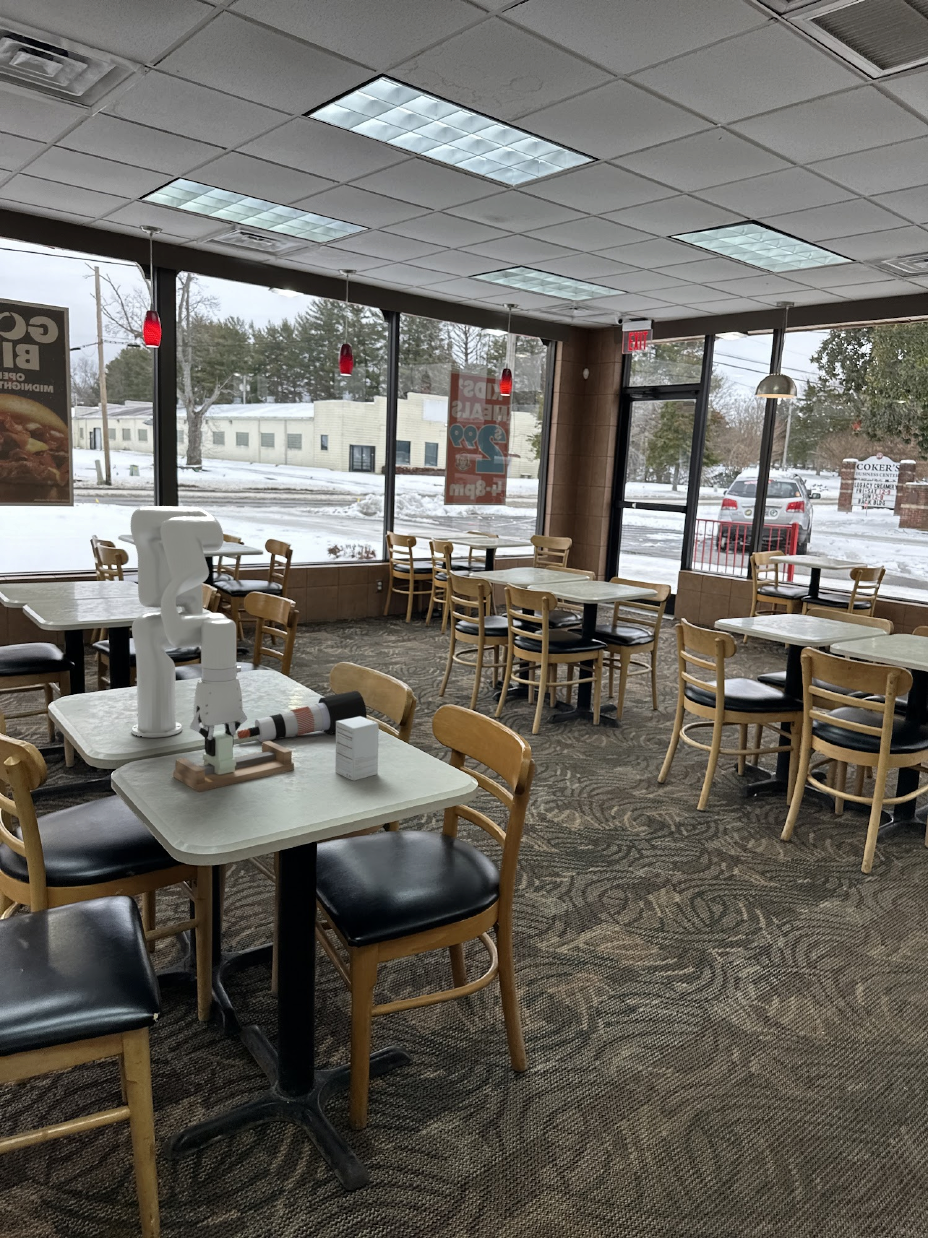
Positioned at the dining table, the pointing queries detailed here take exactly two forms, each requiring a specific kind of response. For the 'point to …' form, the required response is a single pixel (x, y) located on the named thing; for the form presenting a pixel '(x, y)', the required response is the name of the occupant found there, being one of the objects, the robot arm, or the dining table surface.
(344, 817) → the dining table surface
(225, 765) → the block
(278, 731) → the white black stepped cylinder
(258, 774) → the rail board
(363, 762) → the supplement box
